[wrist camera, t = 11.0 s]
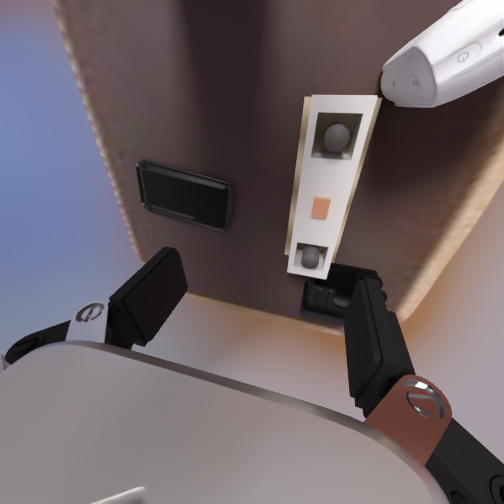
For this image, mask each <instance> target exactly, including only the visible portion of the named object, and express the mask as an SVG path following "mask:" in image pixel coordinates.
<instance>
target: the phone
mask: <svg viewBox="0 0 504 504" xmlns="http://www.w3.org/2000/svg"><path fill="white" fill-rule="evenodd" d="M136 171H137V177H138V184H139V190H140V197H141V203H142V205H143V207H144V208H145V209H147V210H149V211H153V212H156V213H159V214H163V215H166V216H169V217H173V218H176V219H179V220H183V221H186V222H189V223H193V224H196V225H199V226H202V227H206V228H209V229H212V230H216V231H219V232H226V231H227V230H228V228H229V227H230V221H231V212H232V204H233V195H234V188H233V186H232V185H231V184H230V183H229V182H226V181H222V180H219V179H215V178H211V177H208V176H204V175H200V174H196V173H193V172H189V171H185V170H182V169H178V168H174V167H170V166H167V165H163V164H159V163H156V162H152V161H148V160H140V161H138V162H137V163H136Z"/></svg>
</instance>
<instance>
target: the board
mask: <svg viewBox="0 0 504 504" xmlns="http://www.w3.org/2000/svg"><path fill="white" fill-rule="evenodd" d="M311 99H312V97H305V99H304V107H303V115H302V123H301V130H300V138H299V146H298V154H297V161H296V169H295V177H294V185H293V192H292V200H291V208H290V216H289V223H288V231H287V239H286V247H285V255H290V248H291V241H292V234H293V227H294V219H295V212H296V205H297V198H298V191H299V184H300V177H301V170H302V163H303V155H304V148H305V141H306V134H307V127H308V120H309V113H310V106H311ZM381 101H382V98H377V100H376V104H375V107H374V111H373V115H372V118H371V122H370V125H369V129H368V132H367V136H366V139H365V143H364V147H363V150H362V154H361V157H360V161H359V164H358V168H357V172H356V175H355V179H354V182H353V186H352V189H351V193H350V196H349V200H348V204H347V207H346V211H345V214H344V218H343V221H342V225H341V229H340V232H339V236H338V239H337V243H336V246H335V250H334V253H333V257H332V261H331V263H334V260H335V257H336V254H337V250H338V247H339V244H340V240H341V237H342V233H343V230H344V227H345V223H346V220H347V216H348V213H349V210H350V206H351V203H352V200H353V196H354V193H355V189H356V186H357V183H358V179H359V176H360V172H361V169H362V166H363V162H364V159H365V155H366V152H367V149H368V145H369V142H370V139H371V135H372V132H373V128H374V125H375V122H376V118H377V115H378V111H379V108H380V105H381ZM356 117H357V113H325V112H319V116H318V122H317V128H316V135H315V141H314V147H313V151H325V152H340V153H348V150H349V146H350V142H351V138H352V134H353V130H354V125H355V121H356ZM297 250H303V254H302V260H301V263H302V265H303V266H304V267H305V268H308V269H313V268H316V267H317V266H318V264H319V253H321V254H323V251H324V246H318V245H312V244H305V243H299V242H298V246H297Z"/></svg>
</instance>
